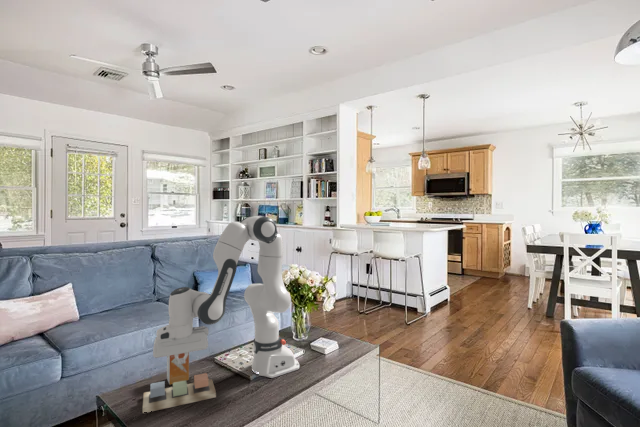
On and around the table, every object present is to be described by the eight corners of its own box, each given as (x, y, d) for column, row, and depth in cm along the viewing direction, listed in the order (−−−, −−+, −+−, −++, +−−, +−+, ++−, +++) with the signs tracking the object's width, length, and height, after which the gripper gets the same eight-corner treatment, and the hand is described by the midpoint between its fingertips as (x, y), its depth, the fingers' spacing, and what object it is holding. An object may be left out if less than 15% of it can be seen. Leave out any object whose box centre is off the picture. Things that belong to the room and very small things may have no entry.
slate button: (164, 388, 137) (164, 381, 137) (164, 395, 132) (164, 387, 132) (150, 391, 135) (150, 383, 135) (150, 398, 130) (150, 390, 130)
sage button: (186, 387, 140) (186, 380, 140) (187, 393, 136) (187, 386, 136) (172, 390, 138) (172, 382, 138) (173, 396, 134) (173, 389, 134)
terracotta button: (206, 380, 144) (206, 372, 144) (208, 385, 139) (208, 378, 139) (194, 382, 142) (194, 375, 141) (195, 388, 137) (195, 381, 137)
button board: (211, 383, 148) (212, 378, 148) (215, 397, 138) (215, 391, 138) (143, 397, 137) (143, 392, 136) (142, 413, 127) (142, 407, 127)
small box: (169, 385, 146) (169, 355, 145) (166, 378, 151) (166, 349, 151) (189, 380, 150) (189, 350, 150) (186, 373, 156) (186, 345, 155)
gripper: (207, 322, 144) (207, 355, 145) (152, 330, 135) (153, 365, 136) (209, 327, 138) (209, 361, 139) (152, 336, 129) (153, 372, 130)
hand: (181, 363), depth 137 cm, fingers closed
